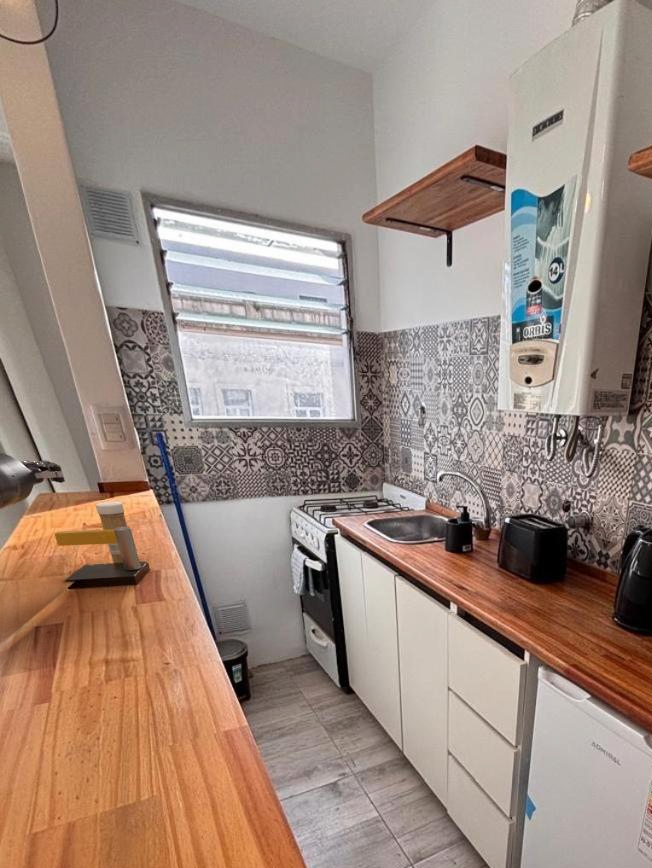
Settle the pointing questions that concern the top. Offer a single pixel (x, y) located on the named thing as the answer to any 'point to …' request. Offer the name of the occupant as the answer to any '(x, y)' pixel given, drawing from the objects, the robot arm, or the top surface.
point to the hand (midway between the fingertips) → (40, 466)
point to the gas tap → (105, 542)
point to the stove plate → (106, 575)
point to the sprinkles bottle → (112, 523)
